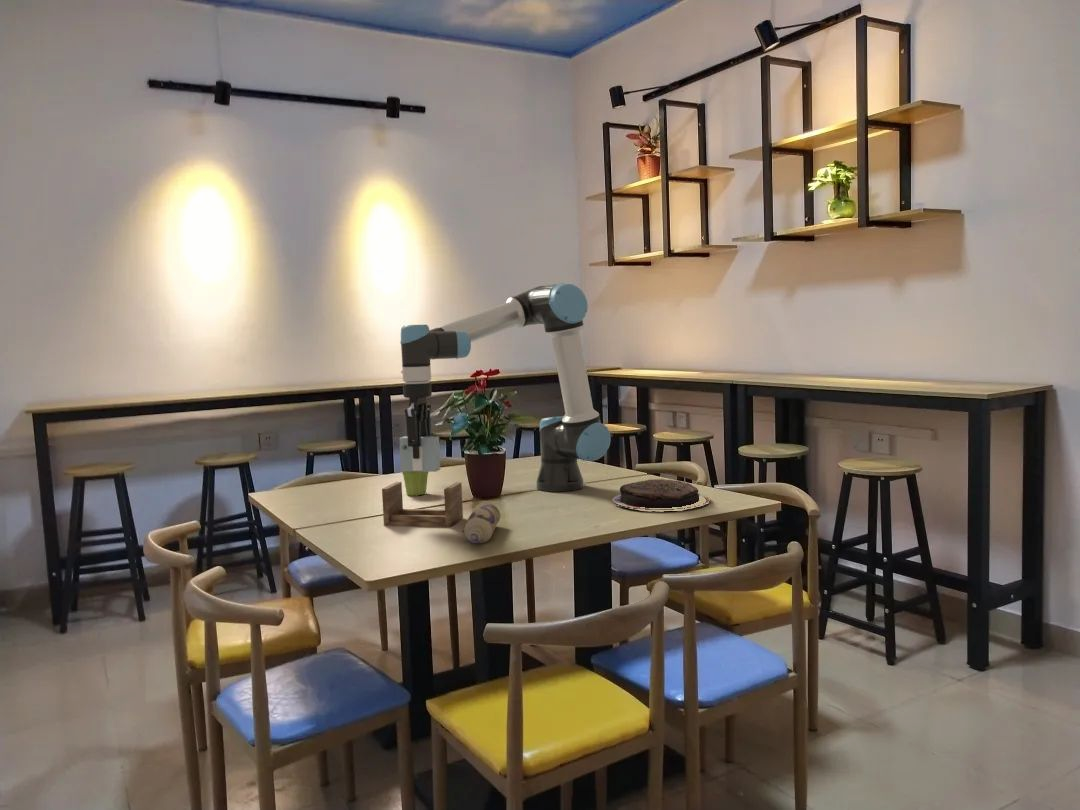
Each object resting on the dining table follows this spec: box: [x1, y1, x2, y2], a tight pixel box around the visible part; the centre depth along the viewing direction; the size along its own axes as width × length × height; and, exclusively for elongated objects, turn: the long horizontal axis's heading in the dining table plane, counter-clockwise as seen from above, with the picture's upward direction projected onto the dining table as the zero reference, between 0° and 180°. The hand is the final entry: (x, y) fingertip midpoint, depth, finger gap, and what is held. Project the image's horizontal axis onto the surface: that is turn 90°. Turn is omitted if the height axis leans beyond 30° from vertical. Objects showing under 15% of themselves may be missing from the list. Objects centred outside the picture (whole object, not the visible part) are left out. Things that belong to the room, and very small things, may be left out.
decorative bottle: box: [461, 502, 501, 544], centre depth 208 cm, size 26×8×7 cm, turn 176°
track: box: [381, 481, 464, 528], centre depth 228 cm, size 19×10×10 cm, turn 77°
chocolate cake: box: [612, 478, 711, 510], centre depth 242 cm, size 28×28×7 cm
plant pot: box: [399, 467, 429, 497], centre depth 268 cm, size 9×9×9 cm
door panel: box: [399, 435, 441, 473], centre depth 226 cm, size 10×4×9 cm, turn 77°
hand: (420, 468), depth 227 cm, fingers closed on door panel, 3 cm apart
